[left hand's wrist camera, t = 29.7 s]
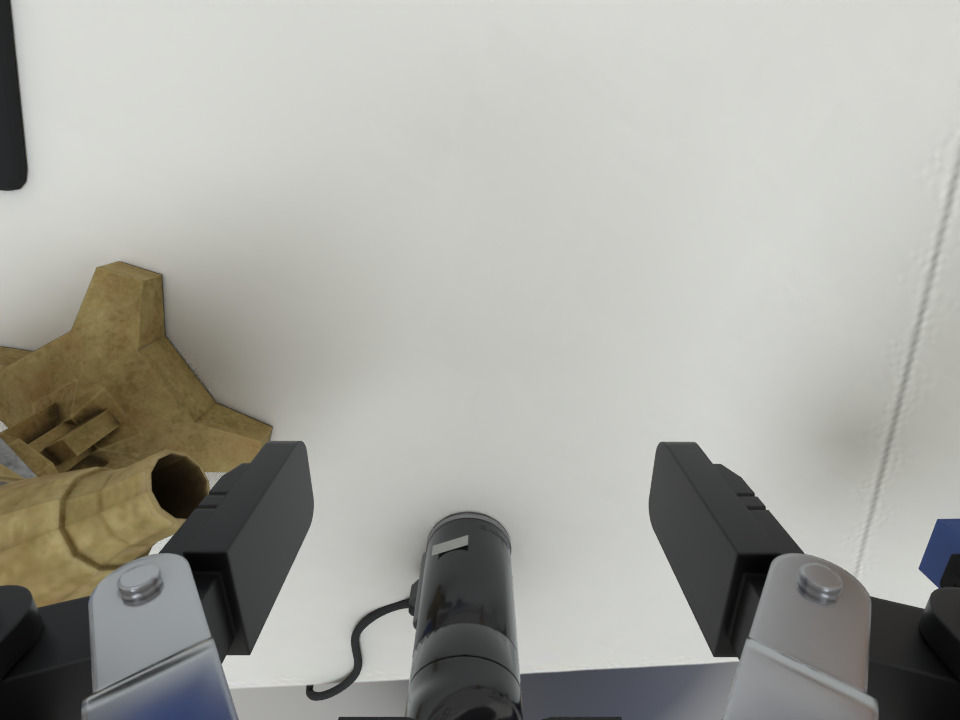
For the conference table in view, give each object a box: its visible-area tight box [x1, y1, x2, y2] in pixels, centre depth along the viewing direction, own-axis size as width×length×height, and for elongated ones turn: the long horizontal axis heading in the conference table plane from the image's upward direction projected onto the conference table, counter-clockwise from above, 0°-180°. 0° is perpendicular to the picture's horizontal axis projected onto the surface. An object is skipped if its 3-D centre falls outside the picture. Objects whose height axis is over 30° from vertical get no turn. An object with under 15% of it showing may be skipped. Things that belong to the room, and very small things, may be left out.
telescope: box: [0, 261, 272, 608], centre depth 31 cm, size 23×40×40 cm, turn 116°
